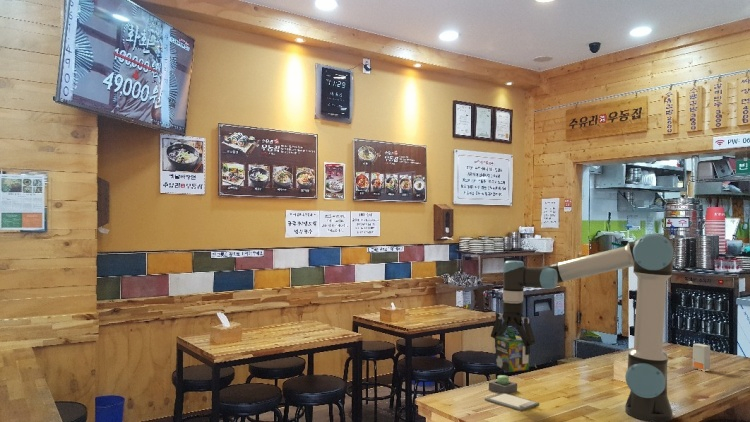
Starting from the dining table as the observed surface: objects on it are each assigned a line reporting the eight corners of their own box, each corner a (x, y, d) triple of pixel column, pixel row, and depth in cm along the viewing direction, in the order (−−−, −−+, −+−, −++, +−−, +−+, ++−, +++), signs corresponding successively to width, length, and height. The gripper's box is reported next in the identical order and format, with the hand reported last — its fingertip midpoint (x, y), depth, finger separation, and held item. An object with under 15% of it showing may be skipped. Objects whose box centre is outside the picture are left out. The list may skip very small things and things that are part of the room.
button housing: (517, 390, 223) (517, 383, 223) (505, 394, 218) (505, 387, 218) (500, 386, 229) (500, 378, 229) (488, 389, 224) (488, 382, 224)
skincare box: (692, 369, 263) (692, 343, 264) (698, 368, 265) (698, 343, 265) (704, 372, 258) (704, 346, 258) (710, 371, 260) (710, 345, 260)
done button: (510, 384, 223) (510, 376, 223) (504, 386, 220) (504, 378, 220) (501, 381, 227) (501, 374, 227) (495, 383, 224) (495, 376, 224)
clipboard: (540, 404, 206) (540, 401, 206) (521, 411, 198) (521, 408, 198) (503, 394, 219) (503, 391, 219) (484, 400, 211) (484, 396, 211)
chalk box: (529, 370, 206) (530, 331, 206) (508, 372, 203) (509, 332, 203) (515, 364, 215) (516, 326, 215) (494, 365, 212) (495, 327, 212)
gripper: (546, 304, 203) (545, 364, 203) (493, 297, 221) (492, 352, 220) (534, 306, 198) (533, 368, 198) (481, 298, 216) (480, 355, 215)
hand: (512, 360), depth 209 cm, fingers closed on chalk box, 11 cm apart
